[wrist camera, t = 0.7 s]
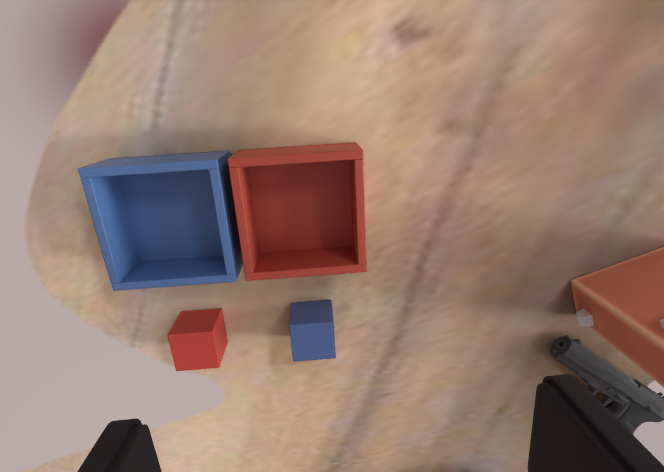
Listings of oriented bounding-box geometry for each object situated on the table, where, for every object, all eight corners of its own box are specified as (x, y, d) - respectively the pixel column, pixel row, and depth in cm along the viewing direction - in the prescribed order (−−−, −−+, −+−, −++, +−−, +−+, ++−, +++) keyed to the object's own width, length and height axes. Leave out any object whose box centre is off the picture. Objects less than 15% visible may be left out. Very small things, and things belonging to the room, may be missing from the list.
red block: (181, 311, 44) (167, 334, 39) (221, 308, 44) (212, 331, 39) (188, 345, 45) (176, 371, 41) (228, 341, 45) (219, 367, 41)
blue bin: (110, 158, 37) (77, 168, 32) (229, 150, 38) (216, 159, 32) (137, 266, 41) (112, 291, 36) (245, 258, 42) (236, 281, 36)
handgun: (497, 391, 51) (564, 327, 47) (598, 448, 55) (666, 394, 52) (507, 408, 48) (578, 342, 45) (612, 467, 52) (685, 411, 49)
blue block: (291, 302, 44) (289, 325, 40) (331, 299, 44) (333, 321, 40) (294, 336, 46) (293, 361, 41) (333, 333, 46) (335, 358, 41)
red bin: (238, 149, 38) (227, 158, 32) (356, 142, 38) (363, 149, 33) (254, 257, 42) (245, 281, 36) (359, 249, 42) (366, 271, 37)
